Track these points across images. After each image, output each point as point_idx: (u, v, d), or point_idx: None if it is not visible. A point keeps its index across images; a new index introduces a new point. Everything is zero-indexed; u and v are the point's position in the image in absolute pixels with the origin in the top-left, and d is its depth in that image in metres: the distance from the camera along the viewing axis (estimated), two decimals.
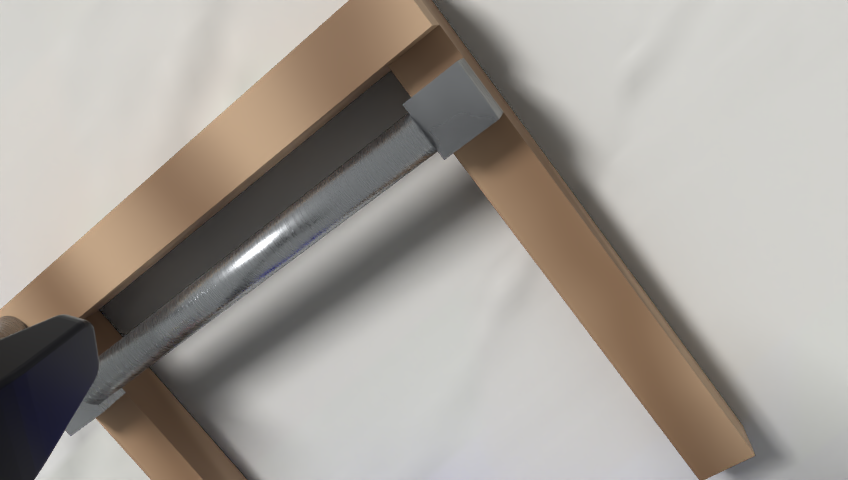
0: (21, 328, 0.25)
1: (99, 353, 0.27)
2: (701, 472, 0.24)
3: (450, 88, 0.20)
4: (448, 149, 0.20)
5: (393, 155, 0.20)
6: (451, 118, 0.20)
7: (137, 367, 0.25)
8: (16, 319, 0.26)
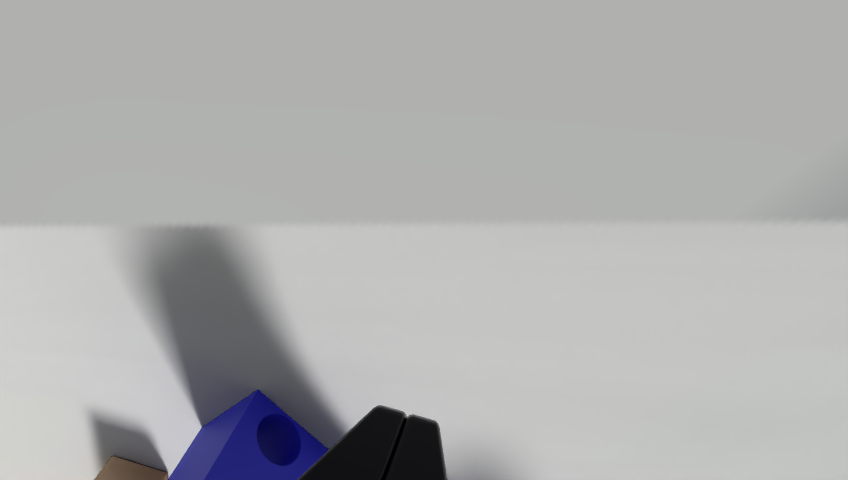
0: None
1: None
2: None
3: None
4: None
5: None
6: None
7: None
8: None
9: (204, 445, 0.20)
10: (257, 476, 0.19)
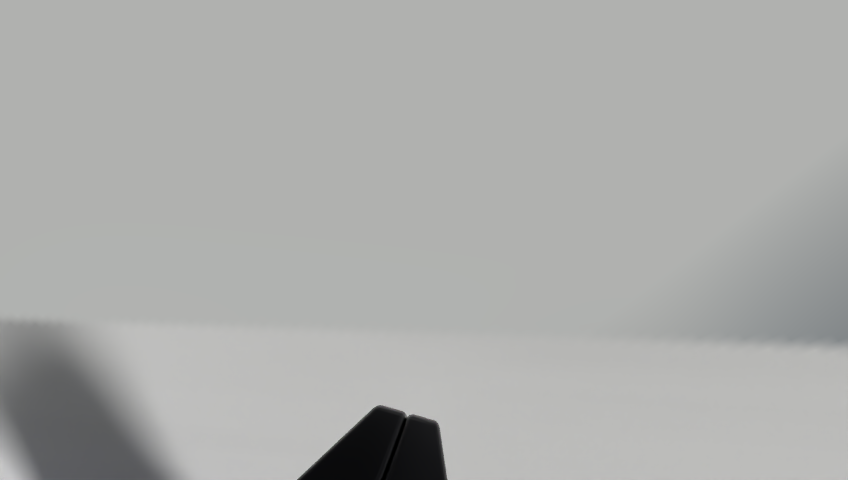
0: None
1: None
2: None
3: None
4: None
5: None
6: None
7: None
8: None
9: None
10: None
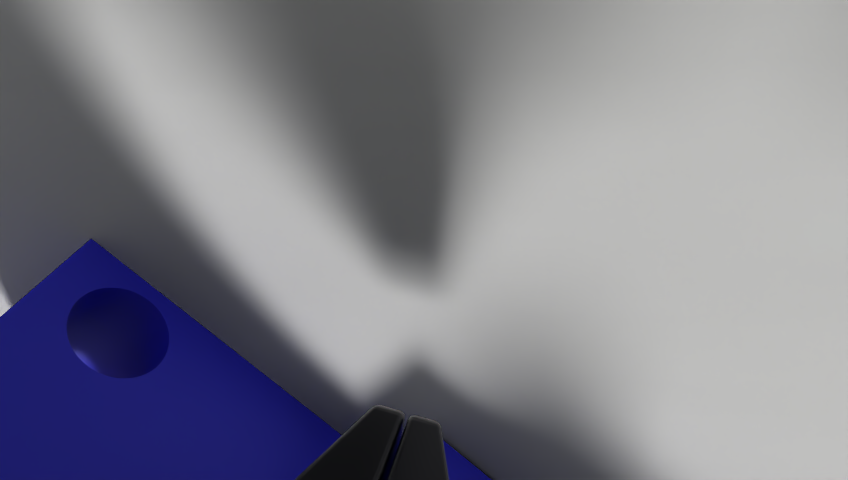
0: None
1: None
2: None
3: None
4: None
5: None
6: None
7: None
8: None
9: None
10: (56, 394, 0.09)
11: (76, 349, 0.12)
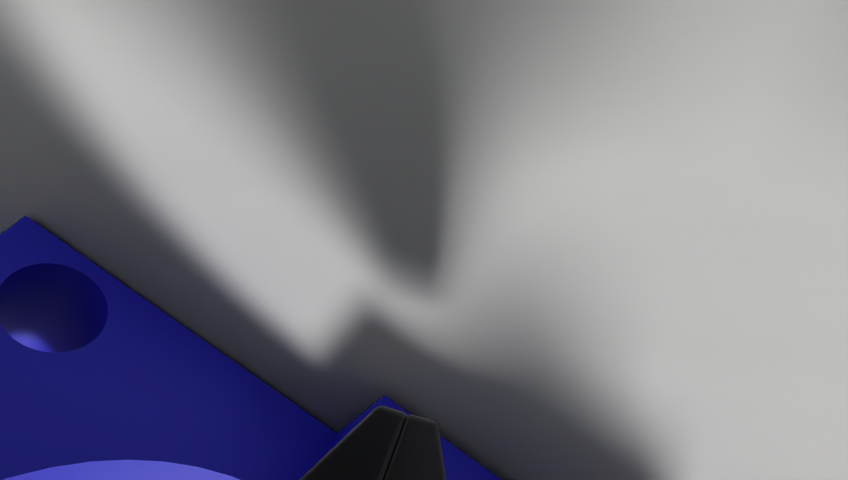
0: None
1: None
2: None
3: None
4: None
5: None
6: None
7: None
8: None
9: None
10: None
11: (28, 332, 0.12)
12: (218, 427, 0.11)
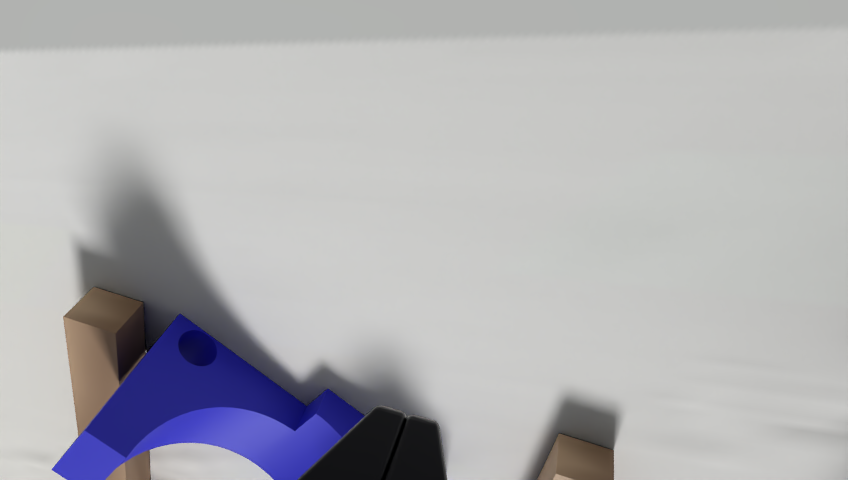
0: None
1: None
2: (110, 337, 0.25)
3: None
4: None
5: None
6: None
7: None
8: None
9: (142, 358, 0.26)
10: (178, 372, 0.25)
11: None
12: (261, 397, 0.26)
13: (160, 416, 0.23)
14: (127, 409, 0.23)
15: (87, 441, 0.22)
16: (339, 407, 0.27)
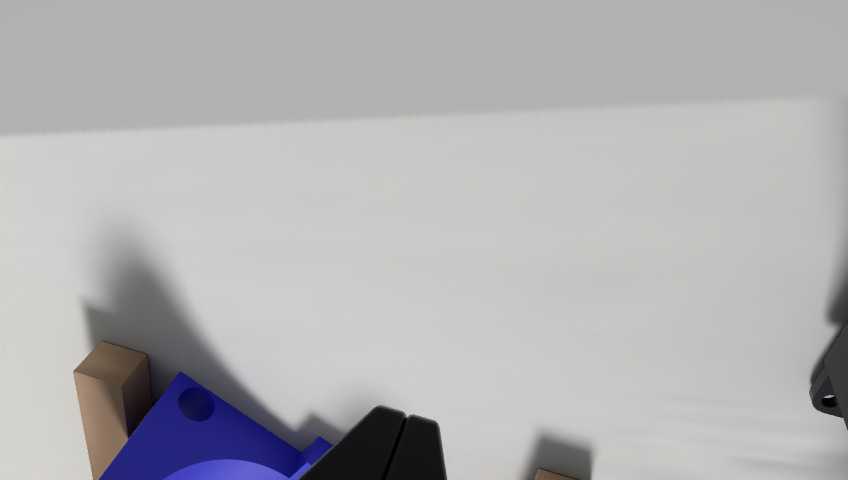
0: None
1: None
2: (116, 389, 0.27)
3: None
4: None
5: None
6: None
7: None
8: None
9: None
10: (178, 428, 0.27)
11: None
12: (257, 447, 0.28)
13: (160, 471, 0.25)
14: (130, 467, 0.25)
15: None
16: None
